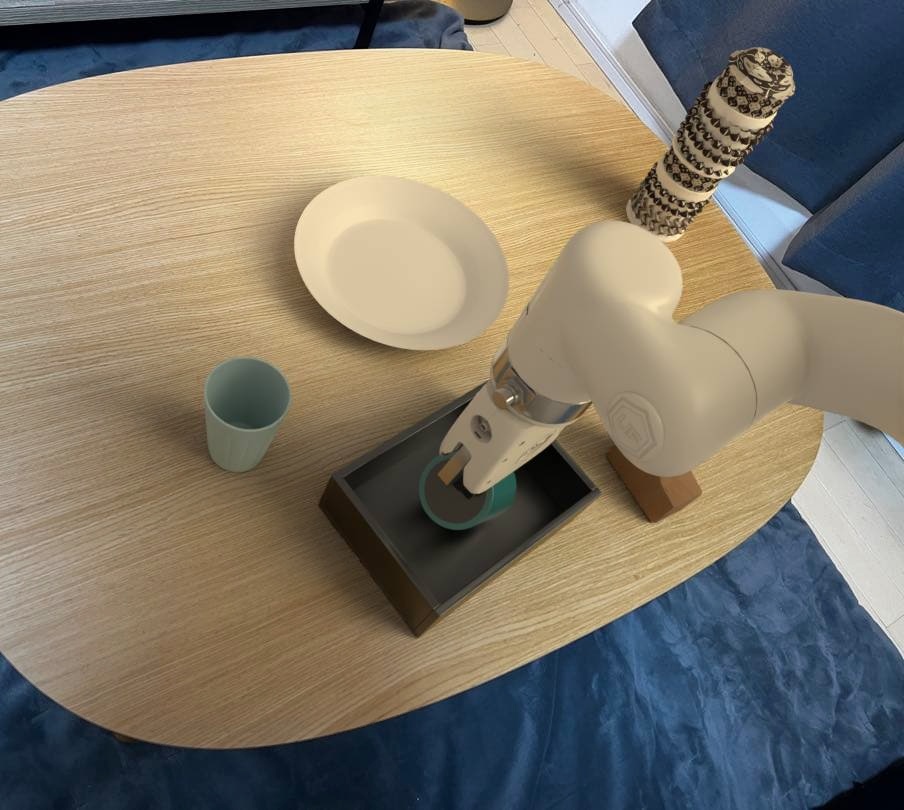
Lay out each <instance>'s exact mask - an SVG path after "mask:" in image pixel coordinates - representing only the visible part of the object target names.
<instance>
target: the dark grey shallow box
mask: <svg viewBox="0 0 904 810" xmlns="http://www.w3.org/2000/svg"><path fill="white" fill-rule="evenodd" d="M488 380H489V379H488ZM488 380H486V381H484V382H483V383H481V384H479V385H477V386H476V387H474V388H472V389H471V390H468V392H466V393H464V394H463V395H461V396H459V397H458V398H456V399H454V400H452V401H450V402H449V403H448V404H445V405H444V406H442V407H441V408H439V409H437V410H436V411H434V412H433V413H431V414H429V415H428V416H425V417H424V418H423V419H421V420H419V421H418V422H416V423H414V424H413V425H410V426H409V427H407V428H405V429H404V430H403V431H401V432H399V433H398V434H396V435H394V436H393V437H391V438H389V439H388V440H386V441H384V442H383V443H380V444H379V445H378V446H376V447H374V448H373V449H371V450H369V451H367V452H366V453H364V454H363V455H361V456H359V457H358V458H356V459H354V460H352V461H351V462H350V463H348V464H346V465H344V466H343V467H341V468H339V469H338V470H336V471H333V473H331V474H330V476H329V479H328V481H327V483H326V486H325V487H324V490H323V492H322V494H321V497H320V499H319V501H318V503H317V506H318V508H320V510H321V512H323V514H324V515H325V517H326V518H327V519H328V521H329V522H330V523H331V525H332V526H333V528H334V529H335V530H336V532H337V533H338V534H339V535H340V537H341V538H342V539H343V541H344V542H345V543H346V545H347V546H348V547H349V549H350V550H351V552H352V553H353V554H354V556H355V557H356V558H357V560H358V561H359V562H360V564H361V565H362V566H363V568H364V569H365V570H366V572H367V573H368V574H369V576H370V577H371V578H372V580H373V581H374V582H375V584H376V585H377V587H378V588H379V589H380V591H381V592H382V594H384V596H385V597H386V598H387V600H388V602H389V603H390V604H391V606H392V607H393V608H394V609H395V611H396V612H397V614H399V616H400V617H401V618H402V620H403V621H404V623H405V624H406V625H407V627H408V628H409V629H410V631H411V632H412V634H413V635H414V637H416V639H419V638H422V636H423V635H425V634H426V633H427V632H428V631H430V630H431V629H432V628H434V627H435V626H437V625H438V624H439V623H440V622H441V621H443V620H445V619H446V618H447V617H448V616H449V615H451V614H452V613H453V612H454V611H456V610H458V609H459V608H460V607H461V606H463V605H464V604H465V603H467V602H468V601H469V600H470V599H472V598H473V597H475V596H476V595H477V594H478V593H480V592H481V591H482V590H484V589H485V588H487V587H488V586H489V585H491V584H492V583H493V582H495V581H496V580H497V579H498V578H500V577H501V576H502V575H503V574H505V573H507V571H509V570H510V569H511V568H512V567H514V566H515V565H516V564H518V563H519V562H521V561H522V560H523V559H524V558H525V557H527V556H529V554H531V553H532V552H533V551H535V550H536V549H537V548H539V547H540V546H542V545H543V544H544V543H545V542H547V541H548V540H549V539H551V538H552V537H554V536H555V535H556V534H557V533H558V532H560V531H561V530H562V529H563V528H565V527H566V526H568V525H569V524H570V523H572V522H574V520H575V519H576V518H578V517H579V515H581V514H582V513H583V512H584V511H585V510H587V508H588V507H590V505H592V504H593V503H594V502H595V501H596V500H598V498H599V497H601V496H602V495H603V492H602V491H601V489H600V488H599V487H598V486H597V484H595V483H594V481H593V480H592V479H591V478H590V477H589V475H587V473H586V472H585V471H584V470H583V469H582V467H581V466H580V465H579V464H578V463H577V462H576V460H574V458H572V456H571V455H570V454H569V453H568V452H567V450H566V449H565V448H564V447H563V446H562V445H561V444H560V442H559V441H558V440H557V438H556V439H555V440H554V441H553V442H552V443H551V444H550V445H549V446H547V447H546V448H545V449H544V450H542V451H541V452H540V453H538V454H537V455H536V456H534V457H533V458H532V459H530V460H529V461H527V462H526V463H525V464H523V465H522V466H520V467H519V468H518V469H516V470H515V471H514V474H515V478H516V494H515V498H514V500H513V502H512V504H511V506H510V507H509V508H508V510H507V511H505V512H504V513H503V514H502V515H500V516H499V517H497V518H494V519H491V520H489V521H486V522H484V523H481V524H478V525H476V526H473V527H470V528H468V529H464V530H452V529H447V528H444V527H442V526H440V525H438V524H437V523H435V522H434V521H433V520H432V519H431V518H430V517H429V516H428V515H427V513H426V512H425V510H424V509H423V507H422V504H421V501H420V497H419V481H420V477H421V475H422V472H423V470H424V469H425V467H426V466H427V464H428V463H429V462H430V461H431V460H432V459H434V458H435V457H437V456H438V455H440V453H439V452H440V446H441V444H442V441H443V440H444V438H445V436H446V435H447V433H448V431H449V430H450V429H451V427H452V426H453V424H454V423H455V422H456V420H457V419H458V418H459V416H460V415H461V414H462V412H463V411H464V410H465V408H466V407H467V406H468V405H469V403H470V402H471V401H472V400H473V398H474V397H475V395H476V394H477V393H478V392H479V391H480V390H481V389H482V387H483V386H484V385H485V384H486V383H487V382H488ZM454 451H456V450H454Z"/></svg>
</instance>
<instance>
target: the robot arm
mask: <svg viewBox="0 0 904 810" xmlns="http://www.w3.org/2000/svg"><path fill="white" fill-rule="evenodd" d="M683 289H684V280H683V274H682V270H681V267H680V264H679V262H678V260H677V258H676V256H675V255H674V253H673V252H672V250H671V249H670V248H669V246H667V245H666V243H664V242H662V241H661V240H660V239H658V238H657V237H656V236H655V235H653V234H652V233H650V232H648V231H647V230H645V229H643V228H641V227H639V226H637V225H634V224H631V222H627V221H622V220H602V221H601V220H600V221H597V222H592V223H590V224H588V225H586V226H584V227H582V228H580V229H579V230H578V231H577V232H575V233H574V234H573V235H572V236H571V237H570V238H569V239H568V241H567V242H566V243H565V245H564V246H563V248H562V249H561V251H560V253H559V254H558V256H557V257H556V259H554V262H553V264H551V267H550V268H549V269H548V271H547V272H546V274H545V276H544V277H543V279H542V280H541V281H540V284H539V285H538V286H537V288H536V290H535V291H534V293H533V294H532V296H531V297H530V299H529V301H528V302H527V304H526V305H525V307H524V308H523V310H522V311H521V312H520V314H519V316H518V317H517V319H516V320H515V322H514V324H513V325H512V327H511V328H510V330H509V331H508V333H507V334H506V336H505V338H504V339H503V341H502V342H501V343H500V346H499V347H498V349H497V350H496V352H495V353H494V355H493V357H492V359H491V362H490V367H489V379H488V382H487V383H486V384H485V385H484V386H483V387H482V389H481V390H480V391H479V392H478V393H477V394H476V395H475V397H474V398H473V400H472V401H471V402H470V403H469V405H468V406H467V407H466V408H465V410H464V411H463V412H462V414H461V415H460V416H459V418H458V419H457V420H456V422H455V423H454V424H453V426H452V427H451V429H450V430H449V431H448V433H447V435H446V436H445V438H444V440H443V441H442V444H441V446H440V452H439V453H440V456H442V455H443V456H444V457H445V456H447V455H448V454H450V453H451V452H453V451H454V450H456V451H457V452H456V453H455V454H454V456H453V457H452V458H451V459H450V460H449V461H448V463H447V464H446V465H445V466H444V467H443V468H442V470H441V471H440V472H439V473H438V474H437V476H438V478H439V479H440V480H441V481H442V482H443V484H444V485H445V486H446V487H448V486H450V485H451V484H452V485H453V486H454V487H455V488H456V490H458V491H460V492H462V493H463V495H464V496H465V497H466V498H467V499H471V498H472V497H474V496H475V494H479V493H482V492H484V491H486V490H487V489H489V488H490V487H492V486H493V485H495V484H496V483H498V482H499V481H501V480H502V479H503V478H505V477H506V476H508V475H509V474H511V473H512V472H513V471H515V470H516V469H518V468H519V467H520V466H522V465H523V464H525V463H526V462H527V461H529V460H530V459H532V458H533V457H534V456H536V455H537V454H538V453H540V452H541V451H542V450H544V449H545V448H546V447H547V446H549V445H550V444H551V443H552V442H553V441H554V440H555V439H556V440H557V437H558V436H559V435H560V434H561V433H562V431H563V430H564V428H565V427H567V426H569V425H572V424H574V423H575V422H576V421H578V420H579V419H580V418H581V417H582V416H583V415H584V414H585V413H586V411H587V410H588V409H590V407H591V406H592V405H593V407H594V409H595V411H596V414H597V415H598V417H599V419H600V421H601V423H602V426H604V429H605V430H606V432H607V434H608V435H609V437H610V439H611V440H612V442H613V443H614V445H616V446H617V447H618V449H619V450H620V451H621V453H622V454H623V455H624V456H625V457H626V458H627V459H628V460H629V461H630V462H631V463H632V464H634V465H635V466H636V467H637V468H639V469H641V470H643V471H644V472H646V473H649V474H652V475H655V476H661V477H672V476H678V475H682V474H684V473H687V472H689V471H691V472H692V471H693V470H695V469H697V468H698V467H699V466H701V465H703V464H704V463H705V462H707V461H708V460H710V459H712V458H713V457H714V456H716V455H717V454H718V453H719V452H721V451H722V450H723V449H725V448H726V447H727V446H729V445H730V444H731V443H733V442H734V441H736V440H737V439H738V438H739V437H741V436H742V435H744V434H745V433H747V432H748V431H749V430H751V429H752V428H753V427H755V426H756V425H758V424H759V423H760V422H762V421H763V420H765V419H766V418H767V417H768V416H770V415H772V413H774V412H776V411H777V410H779V409H780V408H781V407H783V406H784V405H785V404H788V405H789V404H790V405H794V406H795V405H796V406H801V407H806V408H809V409H814V410H818V411H821V412H826V413H830V414H834V415H837V416H838V415H839V416H842V417H846V418H849V419H852V420H855V421H858V422H861V423H863V424H865V425H868V426H871V427H873V428H875V429H876V430H878V431H881V432H882V433H883V434H886V435H887V436H888V437H890V438H891V439H893V440H894V442H897V443H898V444H899V445H900V446H901V447H902V448H903V449H904V312H902V311H900V310H897V309H894V308H891V307H889V306H886V305H882V304H878V303H874V302H871V301H866V300H861V299H857V298H856V299H855V298H849V297H843V296H835V295H827V294H821V293H813V292H807V291H798V290H791V289H790V290H789V289H780V288H779V289H778V288H756V289H748V290H741V291H735V292H733V293H730V294H727V295H724V296H722V297H720V298H718V299H716V300H714V301H711V302H710V303H708V304H706V305H704V306H703V307H701V308H699V309H697V310H696V311H694V312H692V313H691V314H689V315H687V316H686V317H684V318H682V319H681V320H679V321H677V322H676V320H675V319H674V317H673V314H674V313H675V312H676V310H677V308H678V305H679V304H680V302H681V299H682V294H683Z"/></svg>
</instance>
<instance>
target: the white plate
mask: <svg viewBox="0 0 904 810" xmlns="http://www.w3.org/2000/svg"><path fill="white" fill-rule="evenodd" d="M295 227H296V228H295V232H294V238H293V239H294V240H293V251H294V257H295V262H296V266H297V269H298V272H299V275H300V277H301V279H302V280H303V282H304V283H303V284H304V285H305V287H306V288H307V289H308V292H309V293H310V294H311V295H312V297H313V298H314V299H315V301H316V302H317V303H318V304H319V305H320V306H321V307H322V308H323V309H324V310H325V311H326V312H327V313H328V315H330V316H332V317H333V318H334V319H335V320H337V322H339V323H341V324H342V325H343V326H345V327H346V328H348V329H349V330H351V331H353V332H355V333H357V334H358V335H360V336H362V337H365V338H367V339H370V340H371V341H373V342H376V343H379V344H383V345H386V346H390V347H394V348H399V349H405V350H412V351H436V350H443V349H444V350H445V349H449V348H453V347H457V346H461V345H462V344H463V345H464V344H465V343H468V342H470V341H472V340H474V339H476V338H477V337H479V336H480V335H482V334H484V333H485V332H486V331H487V330H488V329H489V328H491V326H493V325H494V324H495V322H496V321H497V320H498V318H500V316H501V314H502V312H503V310H504V309H505V305H506V303H507V301H508V298H509V297H508V296H509V292H510V272H509V266H508V261H507V258H506V256H505V252H504V250H503V248H502V246H501V244H500V241H498V239H497V237H496V236H495V234H494V232H493V231H492V230H491V229H490V227H489V226H488V225H487V224H486V222H485V221H484V220H483V219H482V218H481V217H480V216H479V215H478V214H477V213H476V212H475V211H474V210H472V209H471V208H470V207H469V206H467V205H466V204H465V203H464V202H462V201H461V200H460V199H458V198H456V197H454V195H451V194H449V193H448V192H446V191H444V190H442V189H439V188H437V187H436V186H433V185H430V184H427V183H425V182H422V181H419V180H416V179H412V178H407V177H401V176H395V175H394V176H393V175H365V176H359V177H353V178H348V179H346V180H343V181H340V182H337V183H335V184H333V185H330V186H329V187H327V188H326V189H324V190H322V191H321V192H320V193H318V194H317V195H316V196H315V197H314V198H312V200H311V201H309V203H308V204H307V205H306V207H305V208H304V210H303V211H302V213H301V215H300V217H299V219H298V222H297V225H296V226H295Z"/></svg>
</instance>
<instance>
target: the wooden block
mask: <svg viewBox="0 0 904 810" xmlns="http://www.w3.org/2000/svg"><path fill="white" fill-rule="evenodd" d="M605 456H606V459H607V460H608V461H609V463H610V464H611V466H612V467H613V468H614V470H615V471H616V473H617V475H618V476H619V478H620V479H621V481H622V482H623V483H624V484H625V486H626V488H627V489H628V490H629V492H630V493H631V495H632V497H633V498H634V500H635V501H636V502H637V504H638V505H639V506H640V508H641V510H642V511H643V512H644V514H645V516H646V517H647V518H648V520H649V521H650V522H651V523H652V524H656V523H659V522H660V521H662V520H664V519H666V518H669V517H670V516H672V515H674V514H676V513H678V512H680V511H682V510H683V509H685V508H686V507H688V505H690V504H691V503H693V502H694V501H696V499H698V498H700V497H701V496H702V494H703V490H702V488H701V486H700V484H699V483H698V481H697V479H696V477H695V475H694V473H693V472H692V470H691V471H689V472H687V473H684V474H682V475H678V476H672V477H661V476H655V475H652V474H649V473H646V472H644V471H643V470H641V469H639V468H637V467H636V466H635V465H634V464H632V463H631V462H630V461H629V460H628V459H627V458H626V457H625V456H624V455H623V454H622V453H621V451H620V450H619V449H618V447H617V446H616V445H615V444H614V445H613V446H612V447H611V448H609V450H607V452H606V453H605Z"/></svg>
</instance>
